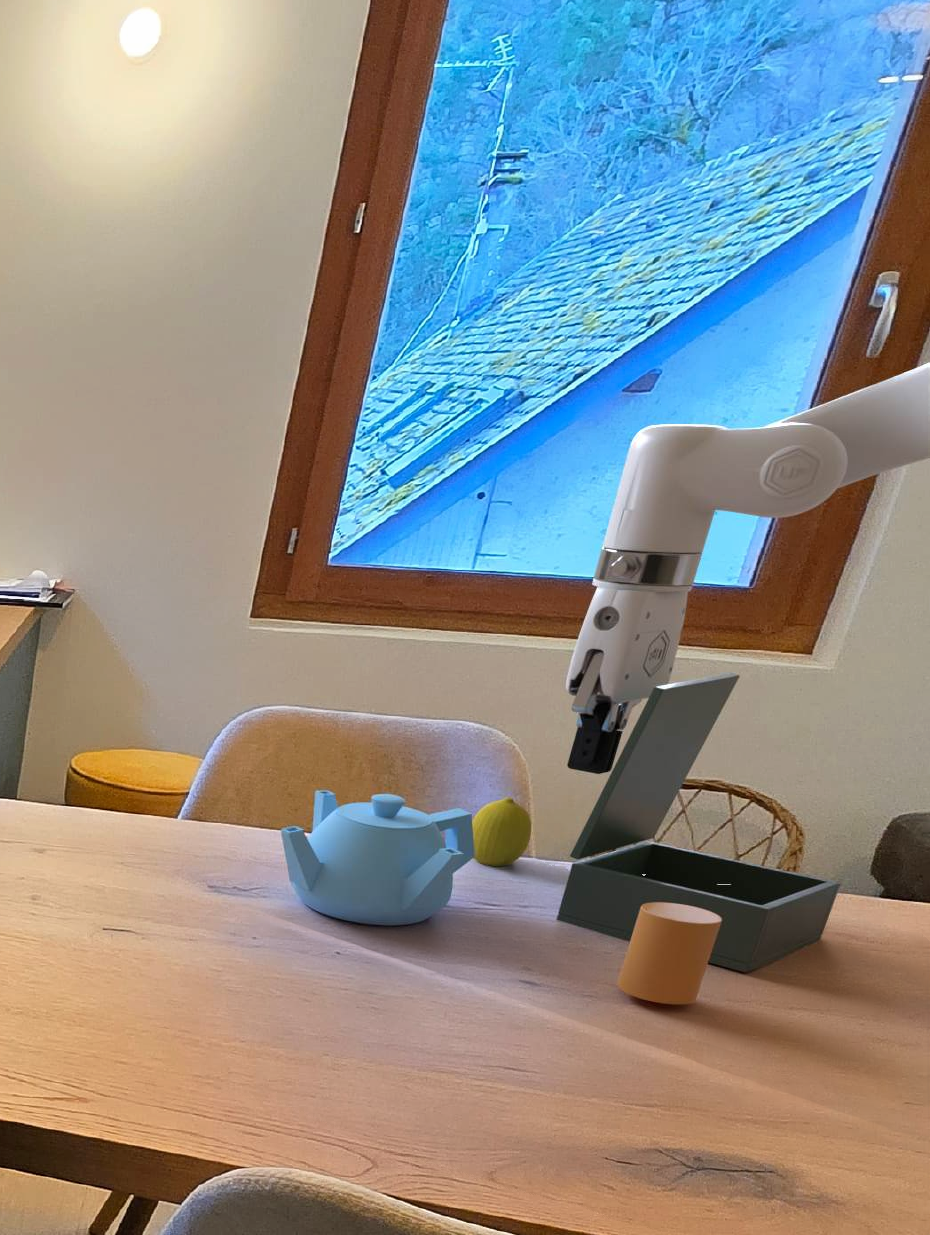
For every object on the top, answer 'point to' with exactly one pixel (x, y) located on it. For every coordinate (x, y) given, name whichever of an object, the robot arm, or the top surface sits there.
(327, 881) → the teapot
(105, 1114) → the top surface
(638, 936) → the orange cylinder
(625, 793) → the lid
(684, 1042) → the top surface
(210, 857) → the top surface
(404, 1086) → the top surface
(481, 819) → the lemon
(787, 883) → the grey hinged box
